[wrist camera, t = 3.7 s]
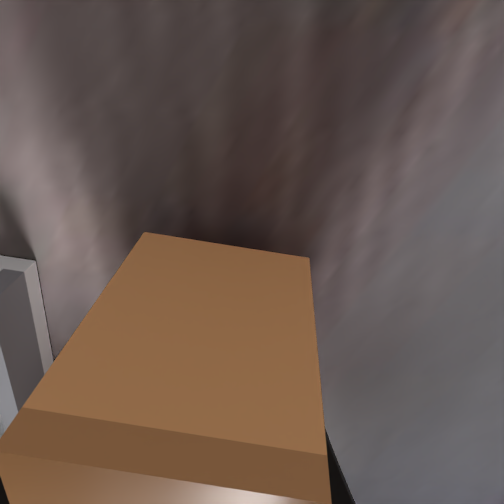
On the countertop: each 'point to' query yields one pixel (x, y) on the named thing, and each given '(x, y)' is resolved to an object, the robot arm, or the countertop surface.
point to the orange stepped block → (181, 388)
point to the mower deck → (20, 336)
